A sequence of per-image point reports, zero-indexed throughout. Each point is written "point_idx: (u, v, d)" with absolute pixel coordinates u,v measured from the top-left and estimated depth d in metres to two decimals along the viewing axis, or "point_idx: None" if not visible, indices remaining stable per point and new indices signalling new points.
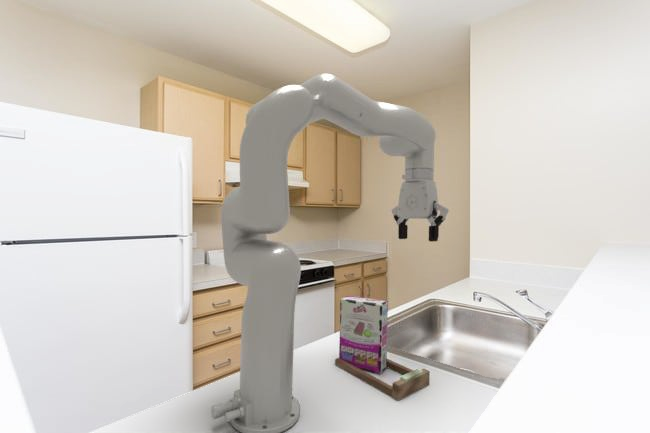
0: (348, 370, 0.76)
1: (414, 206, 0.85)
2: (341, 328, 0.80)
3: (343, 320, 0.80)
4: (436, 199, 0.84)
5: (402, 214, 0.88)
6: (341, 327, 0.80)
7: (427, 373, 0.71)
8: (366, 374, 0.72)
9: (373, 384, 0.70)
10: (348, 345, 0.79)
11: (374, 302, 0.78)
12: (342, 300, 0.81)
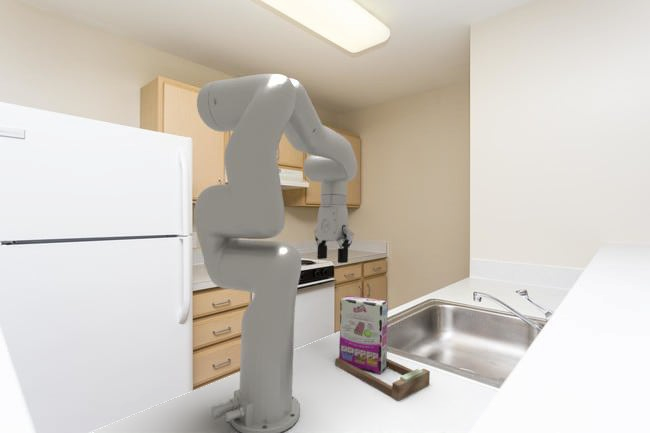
0: (348, 370, 0.76)
1: (326, 229, 0.92)
2: (341, 328, 0.81)
3: (343, 320, 0.80)
4: (346, 223, 0.90)
5: (318, 236, 0.94)
6: (341, 327, 0.80)
7: (427, 373, 0.71)
8: (366, 374, 0.72)
9: (373, 384, 0.70)
10: (348, 345, 0.79)
11: (374, 302, 0.78)
12: (342, 300, 0.81)
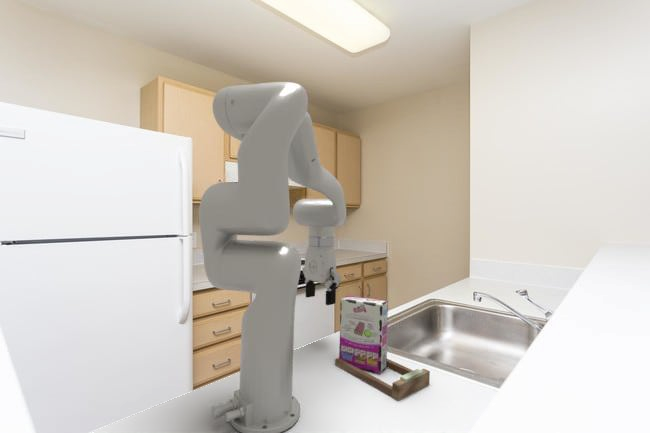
0: (348, 370, 0.76)
1: (314, 270, 0.92)
2: (341, 328, 0.81)
3: (343, 320, 0.80)
4: (333, 265, 0.91)
5: (306, 276, 0.95)
6: (341, 327, 0.80)
7: (427, 373, 0.71)
8: (366, 374, 0.72)
9: (373, 384, 0.70)
10: (348, 345, 0.79)
11: (374, 302, 0.78)
12: (342, 300, 0.81)
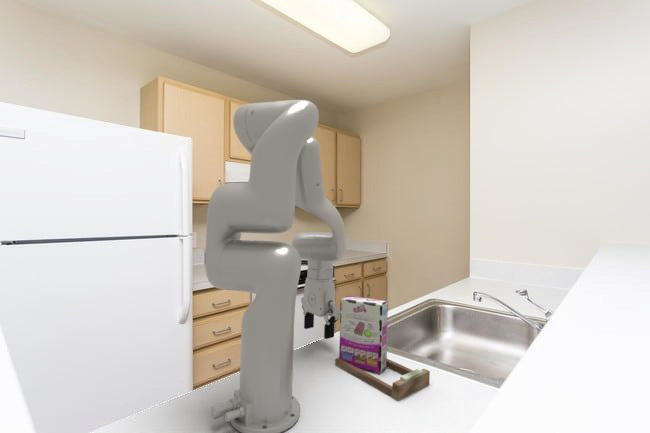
0: (348, 370, 0.76)
1: (313, 303, 0.92)
2: (341, 328, 0.81)
3: (343, 320, 0.80)
4: (332, 298, 0.91)
5: (305, 308, 0.95)
6: (341, 327, 0.80)
7: (427, 373, 0.71)
8: (366, 374, 0.72)
9: (373, 384, 0.70)
10: (348, 345, 0.79)
11: (374, 302, 0.78)
12: (342, 300, 0.81)
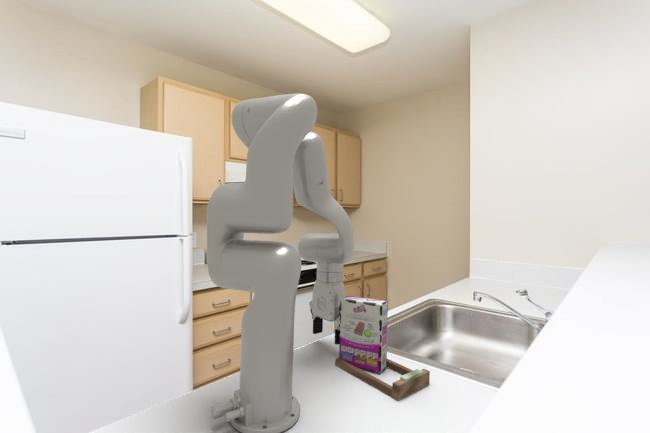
0: (348, 370, 0.76)
1: (323, 307, 0.88)
2: (341, 328, 0.81)
3: (343, 320, 0.80)
4: None
5: (314, 312, 0.91)
6: (341, 327, 0.80)
7: (427, 373, 0.71)
8: (366, 374, 0.72)
9: (373, 384, 0.70)
10: (348, 345, 0.79)
11: (374, 302, 0.78)
12: (342, 300, 0.81)
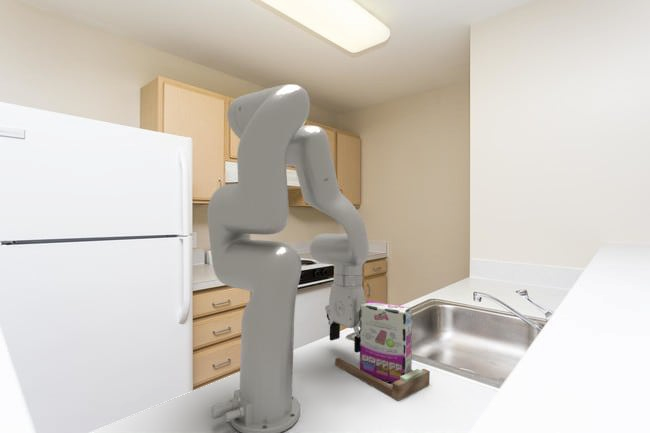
0: (348, 370, 0.76)
1: (341, 312, 0.83)
2: (361, 336, 0.75)
3: (364, 328, 0.75)
4: None
5: (331, 317, 0.86)
6: (361, 335, 0.75)
7: (427, 373, 0.71)
8: (366, 374, 0.72)
9: (373, 384, 0.70)
10: (369, 354, 0.74)
11: (397, 309, 0.72)
12: (362, 306, 0.75)
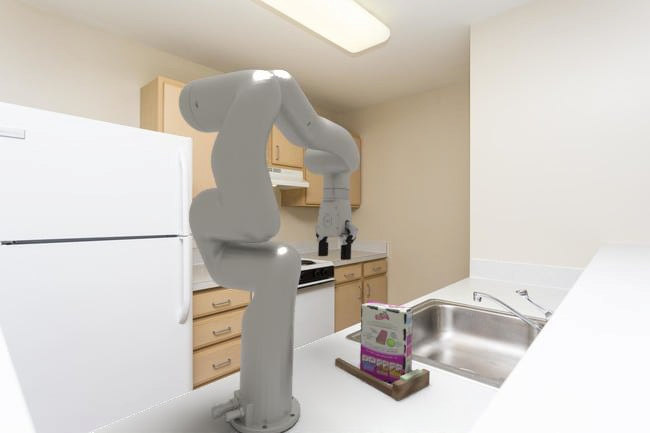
0: (348, 370, 0.76)
1: (329, 224, 0.87)
2: (362, 336, 0.75)
3: (365, 328, 0.75)
4: (349, 218, 0.86)
5: (320, 232, 0.90)
6: (362, 335, 0.75)
7: (427, 373, 0.71)
8: (366, 374, 0.72)
9: (373, 384, 0.70)
10: (370, 354, 0.74)
11: (398, 309, 0.72)
12: (363, 306, 0.76)
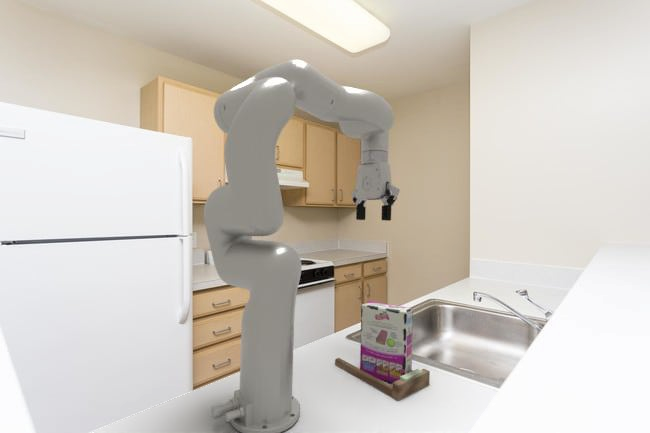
0: (348, 370, 0.76)
1: (368, 187, 0.89)
2: (362, 336, 0.75)
3: (365, 328, 0.75)
4: (389, 180, 0.88)
5: (359, 195, 0.91)
6: (362, 335, 0.75)
7: (427, 373, 0.71)
8: (366, 374, 0.72)
9: (373, 384, 0.70)
10: (370, 354, 0.74)
11: (398, 309, 0.72)
12: (363, 306, 0.76)
